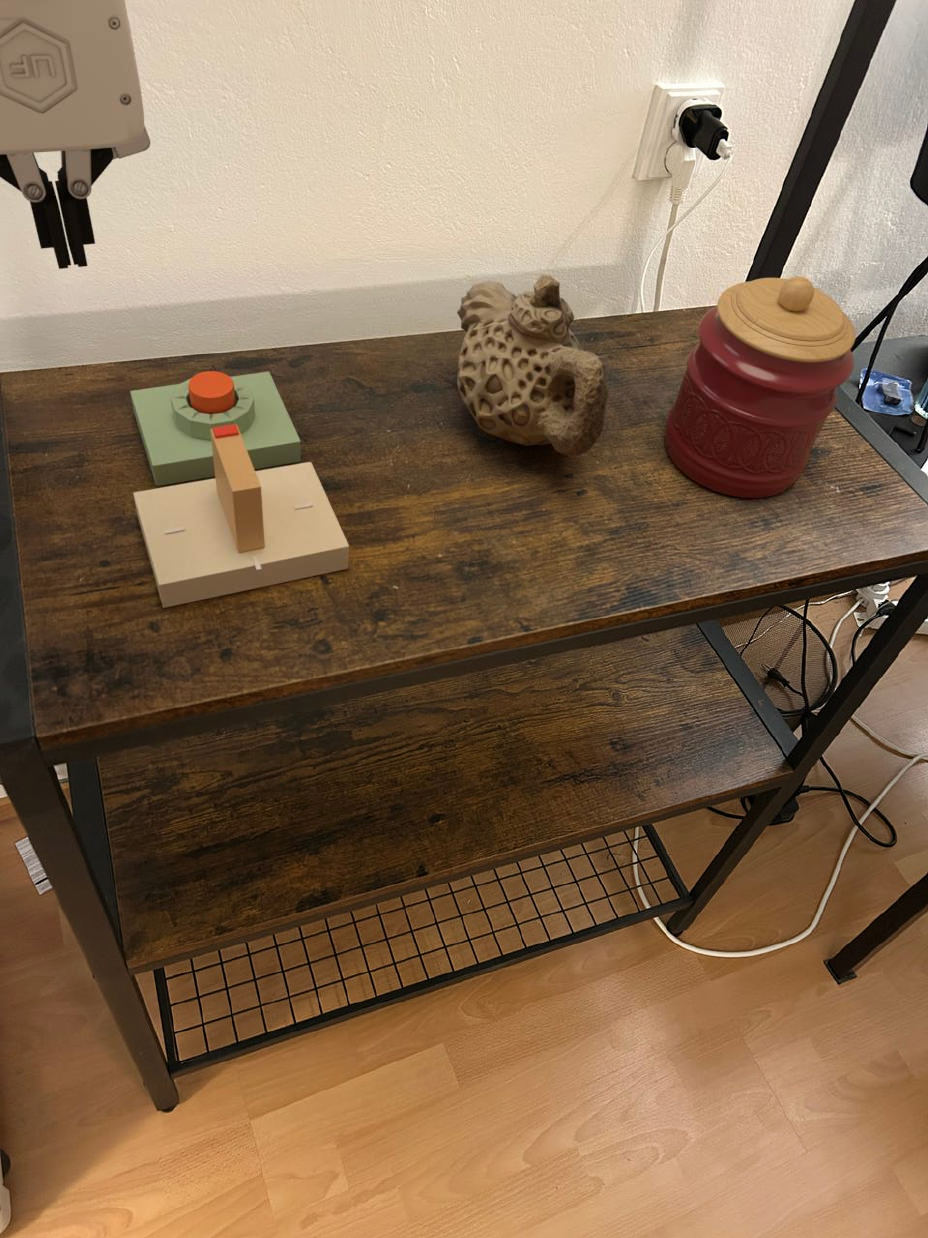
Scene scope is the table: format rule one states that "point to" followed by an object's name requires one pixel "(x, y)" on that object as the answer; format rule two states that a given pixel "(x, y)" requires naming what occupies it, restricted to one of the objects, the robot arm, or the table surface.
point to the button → (211, 392)
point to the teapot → (529, 368)
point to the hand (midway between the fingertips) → (69, 255)
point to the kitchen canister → (759, 386)
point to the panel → (205, 549)
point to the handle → (238, 487)
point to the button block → (185, 436)
